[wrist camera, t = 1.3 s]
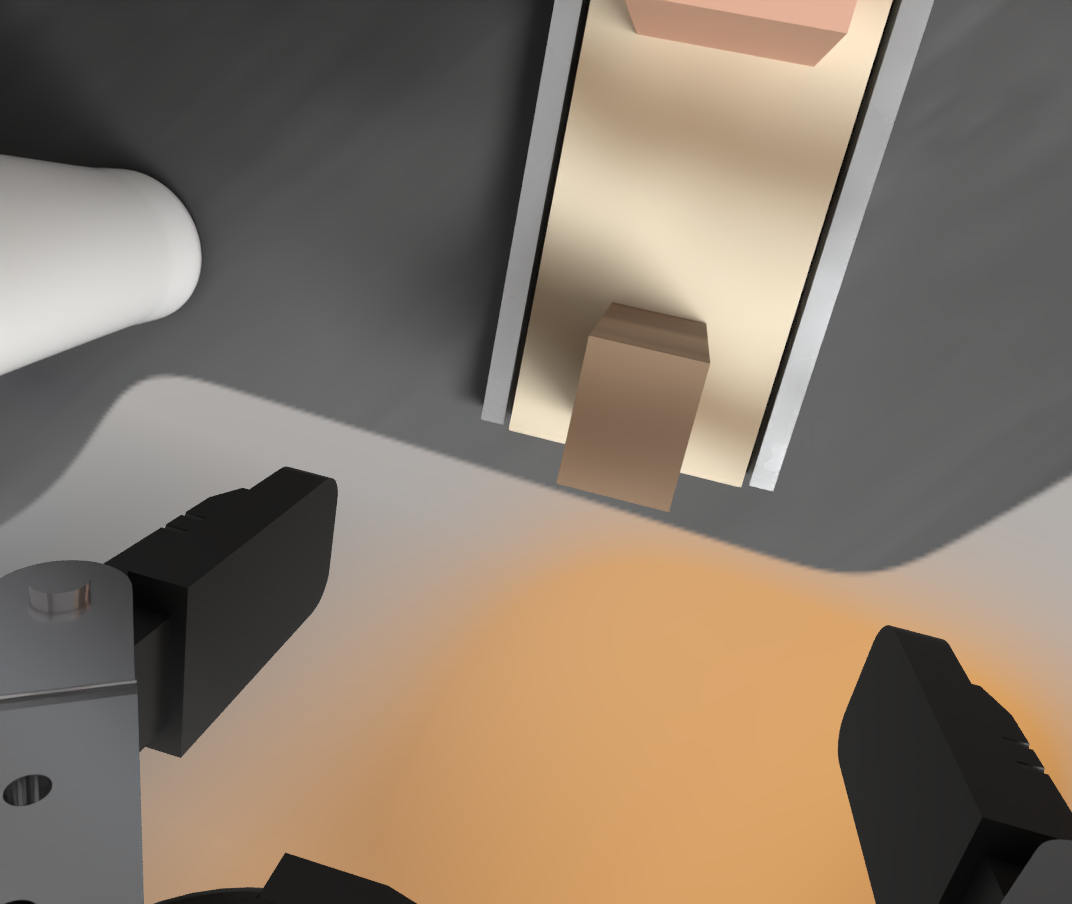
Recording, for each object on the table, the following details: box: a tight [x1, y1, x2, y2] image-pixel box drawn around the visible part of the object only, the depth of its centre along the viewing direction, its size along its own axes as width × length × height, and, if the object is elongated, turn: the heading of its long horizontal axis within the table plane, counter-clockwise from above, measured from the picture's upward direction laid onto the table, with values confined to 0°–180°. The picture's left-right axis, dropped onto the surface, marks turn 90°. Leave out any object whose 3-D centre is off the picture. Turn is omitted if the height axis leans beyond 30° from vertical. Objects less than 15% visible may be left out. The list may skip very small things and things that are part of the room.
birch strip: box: [509, 0, 893, 512], centre depth 20 cm, size 22×8×8 cm, turn 169°
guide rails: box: [481, 0, 934, 491], centre depth 23 cm, size 22×10×1 cm, turn 169°
